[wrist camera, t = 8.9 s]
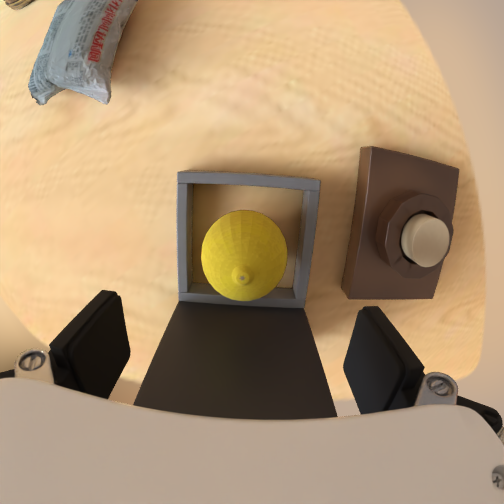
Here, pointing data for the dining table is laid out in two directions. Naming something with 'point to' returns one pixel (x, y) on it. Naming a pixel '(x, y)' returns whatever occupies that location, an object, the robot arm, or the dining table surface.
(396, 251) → the block
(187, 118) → the dining table surface
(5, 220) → the dining table surface
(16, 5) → the wooden mug
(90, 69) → the packaged food
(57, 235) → the dining table surface
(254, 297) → the lemon
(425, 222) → the button
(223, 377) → the stand
